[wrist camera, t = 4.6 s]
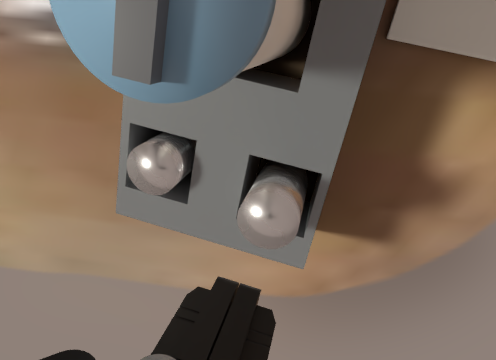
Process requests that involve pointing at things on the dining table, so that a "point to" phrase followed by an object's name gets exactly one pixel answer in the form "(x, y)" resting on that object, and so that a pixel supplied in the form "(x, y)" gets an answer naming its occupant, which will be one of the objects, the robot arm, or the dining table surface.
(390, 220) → the dining table surface
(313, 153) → the housing
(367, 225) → the dining table surface
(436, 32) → the coaster
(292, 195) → the plunger
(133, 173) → the plunger
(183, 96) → the tumbler with domed lid
